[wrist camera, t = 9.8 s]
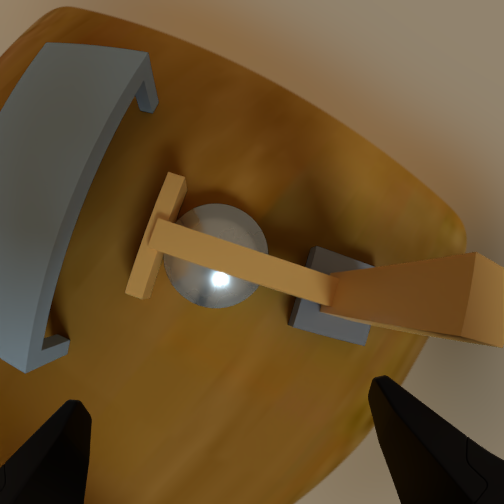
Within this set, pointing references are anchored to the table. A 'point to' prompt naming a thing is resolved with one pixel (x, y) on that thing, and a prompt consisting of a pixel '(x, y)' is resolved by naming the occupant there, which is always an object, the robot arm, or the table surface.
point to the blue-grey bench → (54, 176)
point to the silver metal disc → (207, 280)
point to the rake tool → (338, 283)
